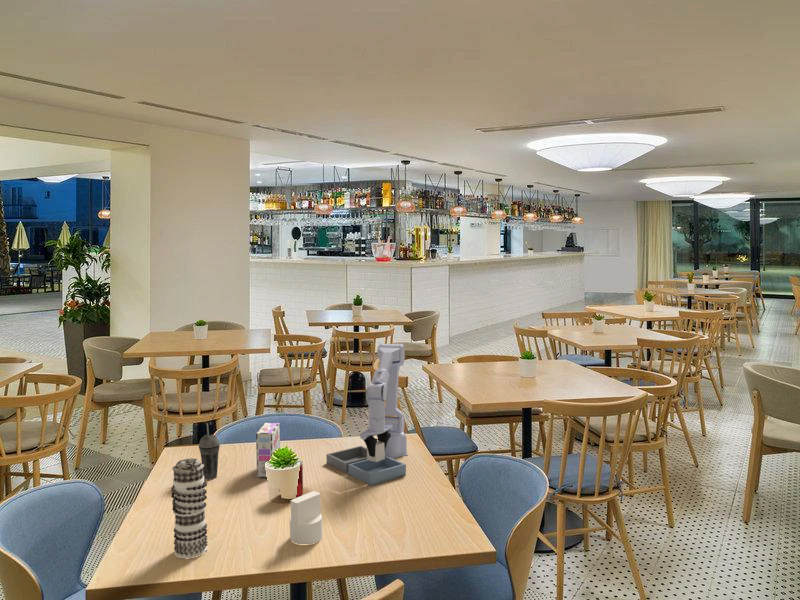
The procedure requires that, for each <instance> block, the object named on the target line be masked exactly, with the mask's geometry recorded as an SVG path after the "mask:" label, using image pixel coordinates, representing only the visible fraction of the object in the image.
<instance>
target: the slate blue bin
mask: <svg viewBox="0 0 800 600" xmlns="http://www.w3.org/2000/svg"><path fill="white" fill-rule="evenodd" d="M347 475H349V476H352V477H353V478H355V479H358V480H360V481H362V482H363V483H366V485H368V486H370V487H371V486H375V485H377V484H381V483H385V482H388V481H391V480H394V479H397V478H401V477H404V476H406V475H407V464H406V463H404V462H402V461H399V460H397V459H395V458H393V459H392V458H390V457H387V456H385V459H384V460H381V461H378V462H373V461H370V460H363V461H360V462H356V463H352V464H348V473H347Z"/></svg>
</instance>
